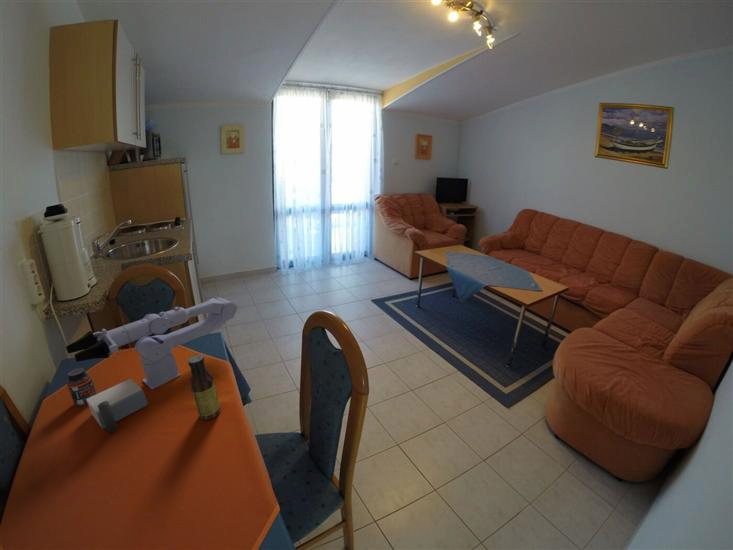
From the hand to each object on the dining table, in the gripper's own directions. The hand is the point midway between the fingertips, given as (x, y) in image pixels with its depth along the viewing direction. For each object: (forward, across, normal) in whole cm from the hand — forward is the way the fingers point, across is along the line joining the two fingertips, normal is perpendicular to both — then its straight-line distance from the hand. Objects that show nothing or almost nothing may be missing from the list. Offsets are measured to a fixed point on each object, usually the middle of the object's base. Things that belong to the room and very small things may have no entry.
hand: (71, 354), depth 97 cm
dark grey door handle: (-6, +12, +21) cm, 25 cm away
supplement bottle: (-1, -9, +22) cm, 23 cm away
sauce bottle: (-21, +30, +22) cm, 42 cm away
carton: (-6, +5, +21) cm, 23 cm away
